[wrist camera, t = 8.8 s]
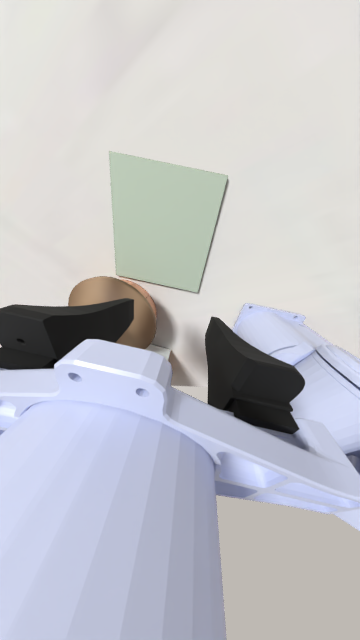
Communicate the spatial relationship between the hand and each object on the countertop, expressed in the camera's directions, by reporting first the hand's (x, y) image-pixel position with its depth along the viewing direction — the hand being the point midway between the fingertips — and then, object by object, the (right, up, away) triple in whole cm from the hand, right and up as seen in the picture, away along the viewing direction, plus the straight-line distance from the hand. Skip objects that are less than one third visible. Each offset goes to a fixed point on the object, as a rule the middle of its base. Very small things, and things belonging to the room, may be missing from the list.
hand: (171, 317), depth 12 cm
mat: (-2, +11, +6) cm, 13 cm away
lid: (-9, 0, +9) cm, 13 cm away
